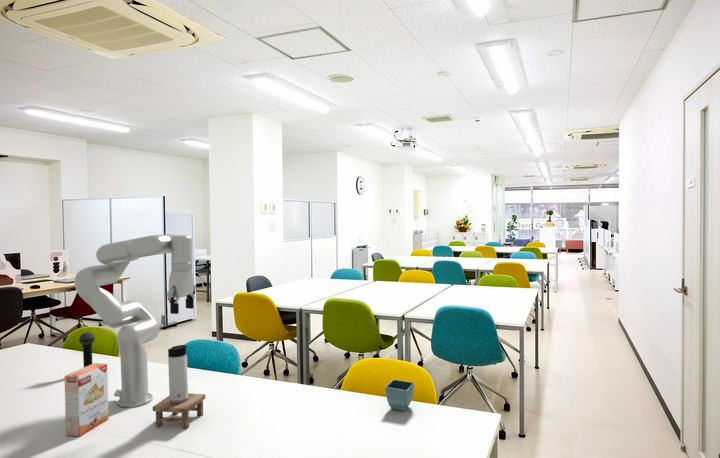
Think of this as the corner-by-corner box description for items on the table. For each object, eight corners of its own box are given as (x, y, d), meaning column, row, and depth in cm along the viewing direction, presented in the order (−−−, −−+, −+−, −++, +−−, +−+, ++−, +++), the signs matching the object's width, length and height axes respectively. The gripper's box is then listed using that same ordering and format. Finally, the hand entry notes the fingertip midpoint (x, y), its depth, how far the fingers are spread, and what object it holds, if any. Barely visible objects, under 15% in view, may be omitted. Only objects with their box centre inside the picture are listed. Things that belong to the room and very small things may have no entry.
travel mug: (182, 404, 163) (180, 348, 163) (166, 403, 165) (164, 347, 164) (192, 397, 169) (190, 343, 169) (176, 396, 171) (174, 342, 170)
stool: (153, 428, 162) (152, 406, 162) (174, 412, 175) (173, 392, 174) (187, 430, 160) (186, 408, 160) (206, 414, 173) (205, 394, 172)
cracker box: (80, 437, 156) (78, 376, 155) (65, 436, 157) (62, 375, 156) (110, 419, 170) (108, 362, 169) (95, 418, 171) (93, 362, 170)
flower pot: (415, 405, 177) (414, 382, 177) (407, 414, 169) (407, 390, 169) (393, 401, 181) (393, 379, 181) (385, 410, 173) (384, 387, 173)
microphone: (77, 375, 217) (75, 333, 217) (88, 370, 224) (87, 330, 223) (87, 376, 216) (86, 334, 215) (99, 372, 222) (98, 330, 221)
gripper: (186, 264, 188) (186, 306, 189) (158, 269, 171) (159, 315, 172) (203, 264, 186) (203, 307, 187) (176, 270, 169) (177, 316, 170)
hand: (182, 310), depth 179 cm, fingers open, 9 cm apart
